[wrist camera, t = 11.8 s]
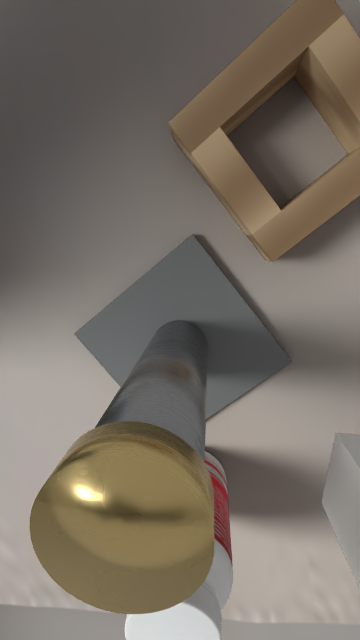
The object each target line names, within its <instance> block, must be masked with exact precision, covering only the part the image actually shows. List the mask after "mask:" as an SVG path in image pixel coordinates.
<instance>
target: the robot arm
mask: <svg viewBox="0 0 360 640" xmlns="http://www.w3.org/2000/svg"><path fill="white" fill-rule="evenodd" d="M321 503H322V505H323V507H324V510H325V512H326V514H327V516H328V519H329V521H330V523H331V526H332V528H333V530H334V532H335V535H336V537H337V539H338V541H339V544H340V546H341V548H342V551H343V553H344V555H345V557H346V560H347V562H348V564H349V566H350V569H351V571H352V573H353V576H354V578H355V580H356V582H357V585H358V587H359V589H360V435H354V434H343V433H336V434H335V438H334V443H333V448H332V453H331V458H330V463H329V468H328V473H327V477H326V482H325V487H324V492H323V497H322V502H321Z"/></svg>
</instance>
